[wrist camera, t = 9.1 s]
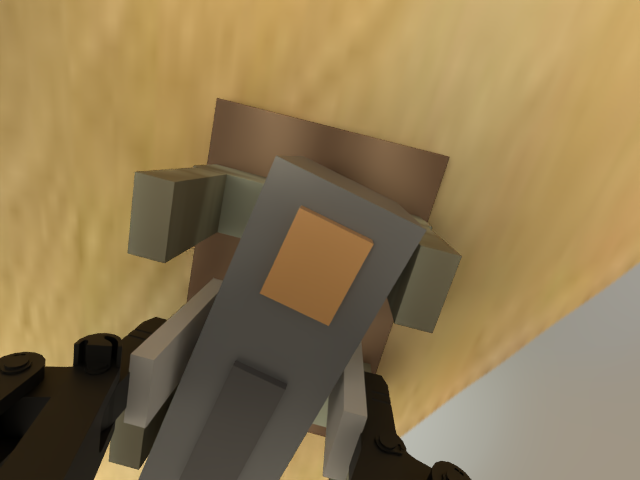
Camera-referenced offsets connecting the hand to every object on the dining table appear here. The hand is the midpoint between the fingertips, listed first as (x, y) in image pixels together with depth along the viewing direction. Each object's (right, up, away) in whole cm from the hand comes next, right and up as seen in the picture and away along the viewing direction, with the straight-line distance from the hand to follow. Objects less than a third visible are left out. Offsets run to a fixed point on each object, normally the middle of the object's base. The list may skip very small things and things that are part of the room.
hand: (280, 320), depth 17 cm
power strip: (0, 0, +1) cm, 1 cm away
